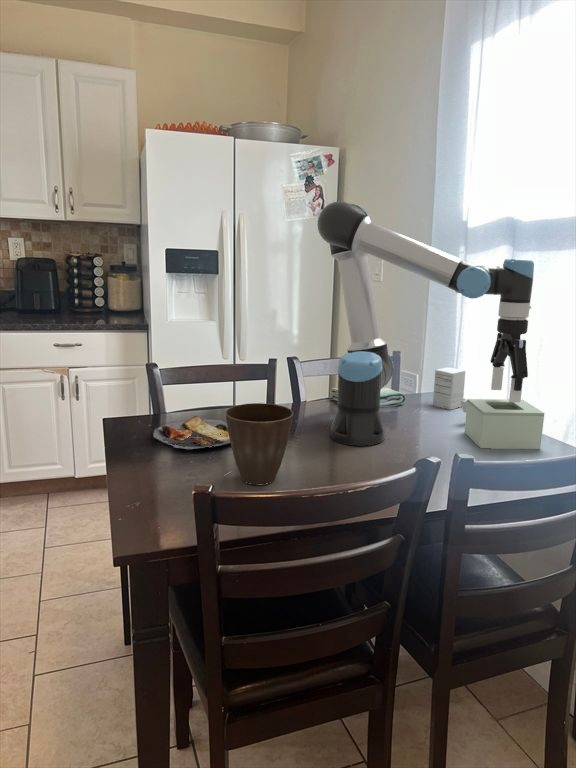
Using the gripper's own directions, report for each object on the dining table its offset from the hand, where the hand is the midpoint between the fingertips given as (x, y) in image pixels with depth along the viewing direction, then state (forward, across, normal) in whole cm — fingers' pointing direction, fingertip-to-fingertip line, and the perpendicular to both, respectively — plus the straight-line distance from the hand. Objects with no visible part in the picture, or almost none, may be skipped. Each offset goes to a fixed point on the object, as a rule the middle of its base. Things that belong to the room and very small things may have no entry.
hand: (505, 395), depth 157 cm
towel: (+14, +41, +32) cm, 54 cm away
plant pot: (+13, -30, +66) cm, 74 cm away
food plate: (+14, -1, +84) cm, 85 cm away
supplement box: (+13, +36, +5) cm, 39 cm away
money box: (+13, 0, 0) cm, 13 cm away
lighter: (+13, +16, +4) cm, 21 cm away
